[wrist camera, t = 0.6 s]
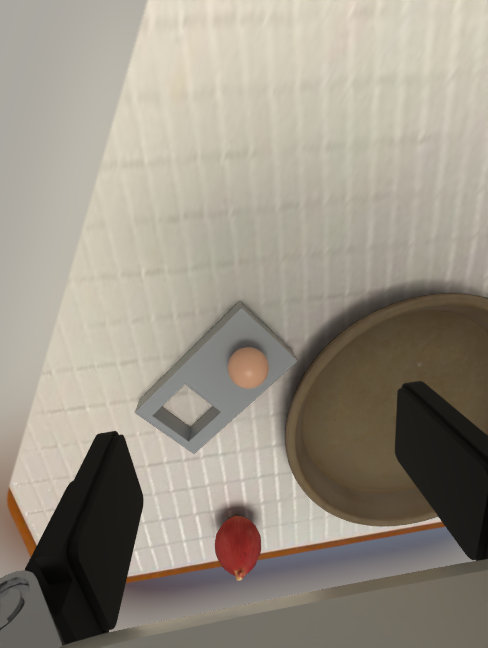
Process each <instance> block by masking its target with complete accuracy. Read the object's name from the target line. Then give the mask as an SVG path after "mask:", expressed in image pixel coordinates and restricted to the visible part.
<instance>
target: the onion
mask: <svg viewBox="0 0 488 648" xmlns="http://www.w3.org/2000/svg"><path fill="white" fill-rule="evenodd" d="M260 552H261V537H260V534H259V532H258V530H257V528H256V526H255V525H254V524H253V523H252V522H251V521H250V520H249V519H247V518H245V517H241V516H238V515H235V516H233V517H231V518H229V519H228V520H227V521H226V522H224V523H223V524H222V526H221V527H220V529H219V531H218V532H217V534H216V539H215V553H216V556H217V558H218V560H219V562H220V563H221V565H222V567H223V568H224V569H225V570H227V571H228V572H229V573H230V574H232V575H235V576H236V580H242V579H243V577H244V576H245V575H246V574H247V573H249V572H250V571H251V570H252V569H253V568H254V566H255V565H256V562H257V560H258V558H259V556H260Z"/></svg>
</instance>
